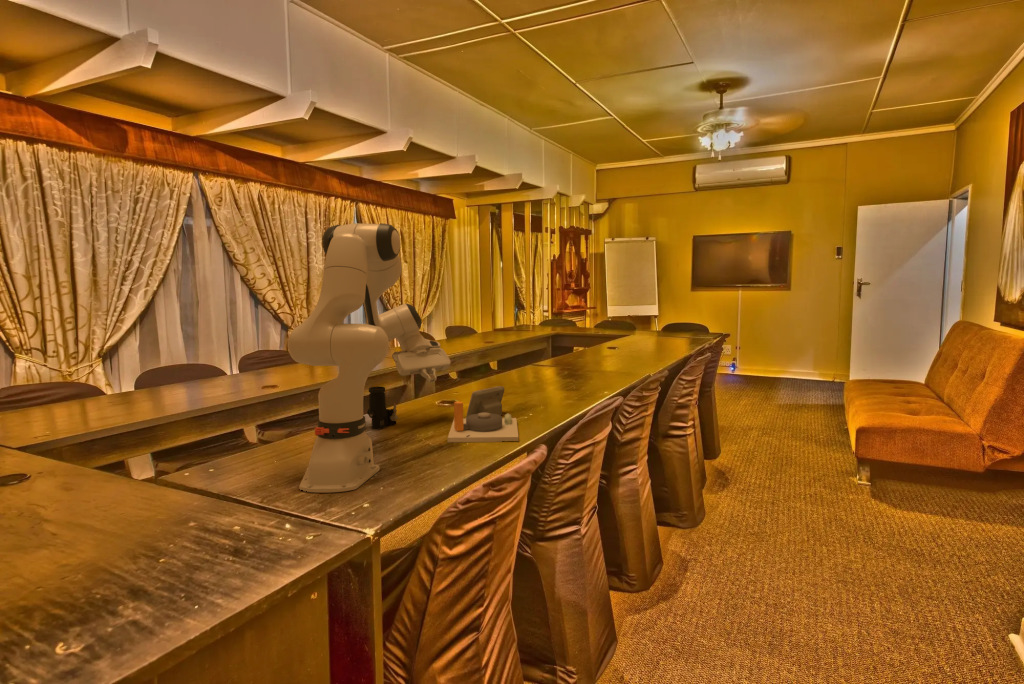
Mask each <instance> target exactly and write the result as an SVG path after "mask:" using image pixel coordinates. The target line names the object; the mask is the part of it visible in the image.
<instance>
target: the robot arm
mask: <svg viewBox="0 0 1024 684" xmlns="http://www.w3.org/2000/svg"><path fill="white" fill-rule="evenodd" d="M321 242H322V243H321V244H322V250H323V252H324V254H325V258H324V265H323V274H322V282H321V287H320V288H321V289H320V294H319V297H318V298H319V299H318V300H317V303H316V305H315V307H314V309H313V311H312V312H311V313H310V314H309V316H308V317H307V318H306V319H305V320H304V321H302V323H300V324H299V325H297V326H295V327H294V328H293V330H291V332H290V333H289V334H288V335H289V336H288V338H287V350H288V353H289V356H290V358H292V360H293V361H295V362H296V363H298V364H303V365H307V366H312V367H313V366H314V367H317V366H318V367H321V366H322V367H338V375H337V377H335V378H332V379H331V380H329V381H327V382H326V383H324V384H323V385H322V386H321V387H320V389H319V391H318V394H317V396H318V418H319V419H318V420H317V425H316V427H315V428H314V434H315V436H317V437H316V438H315V440H314V443H313V447H312V451H311V454H310V458H309V462H308V466H307V468H306V471H305V473H304V474H303V477H302V478H301V482H300V484H299V487H298V489H300V490H299V491H301V490H303V491H302V492H306V491H307V492H306V493H323V494H324V493H340V492H341V493H342V492H349V491H355V490H357V489H358V488H360V487H361V486H362V485H363V484H364V483H365V482H367V481H368V480H369V479H371V478H372V477H373V476H374V475H375V474H377V473H378V472H379V471H380V465H378V464H375V463H374V452H373V451H374V449H373V442H372V441H373V440H372V438H371V437H370V436H369V435H368V434H367V433H366V429H367V428H366V424H367V421H366V416H364V395H365V393H364V391H365V385H366V383H367V380H368V378H369V376H370V374H371V373H372V372H373V370H374V369H375V368H376V367H377V366H378V365H380V364H381V363H382V362H384V361H385V359H386V357H387V356H388V354H389V349H390V342H391V341H393V340H394V339H395V340H396V341H397V342H398V343H399V344H400V345H399V346H400V349H401V350H400V351H399V350H398V351H394V352H393V353H392V355H391V357H392V360H393V361H394V364H395V367H396V370H397V372H398V374H399V375H400V376H401V377H402V376H404V377H405V376H410V375H411V376H412V375H417V374H419V375H420V376H421V377H423V378H424V379H426V382H427V383H432V382H436V381H437V379H438V378H437V375H436V372H440V371H447V370H448V369H449V368H450V366H451V364H452V363H451V362H452V361H451V359H450V356H448V354H447V353H446V351H445V350H444V349H443V348H442V347H441V343H440V342H439V341H435V340H430V339H427V338H425V337H424V336H423V335H422V334H421V332H420V329H421V327H422V322H423V321H422V320H423V319H422V318H421V316H420V315H419V313H418V311H417V310H416V307H415V306H414V305H412V304H409V303H403V304H401V305H397V306H396V307H393V308H392V309H389V310H386V311H385V312H382V313H380V314H379V309H378V304H377V302H378V300H379V298H380V297H381V296H382V295H383V294H384V293H385V292H386V291H387V290H389V289H390V288H392V287H393V286H394V285H395V284H396V283H397V281H399V279H400V277H401V275H402V271H403V266H402V262H401V259H400V255H399V254H400V251H401V238H400V234H399V231H398V229H397V228H395V226H393V224H390V223H389V224H388V223H379V224H378V223H360V222H358V223H357V222H355V223H349V224H336V225H332V226H330V227H328V228H326V230H325V231H324V232H323V235H322V240H321ZM361 307H362V308H363V312H364V318H365V320H364V321H365V323H343V322H344V321H345V320H346V318H347V317H348V316H349V315H350V314H352V313H354V312H356V311H358V310H359V309H361Z"/></svg>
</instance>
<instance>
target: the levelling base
mask: <svg viewBox="0 0 1024 684" xmlns="http://www.w3.org/2000/svg"><path fill="white" fill-rule="evenodd" d="M465 423H466V417H465V418H464V417H463V424H465ZM502 441H518V442H519V430H518V421H517V417H512V414H511V413H508V412H507V413H506V414H504V417H502V427H501V428H500V429H497V430H492V431H474V430H470V429H467V430H463V431H457V430H455V429H454V419H453V421H452V423H451V426H450V430H449V433H448V436H447V443H503V442H502Z"/></svg>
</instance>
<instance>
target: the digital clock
mask: <svg viewBox="0 0 1024 684" xmlns="http://www.w3.org/2000/svg"><path fill="white" fill-rule="evenodd" d="M504 393H505V386H502V385H501V386H499V385H498V386H493V387H489V388H484V389H479V390H475V391H472V393H471V395H470V396H471V397H470V400H469V404H468V408H467V411H466V417H467V416H469V415H472V414H478V413H483V412H486V413H493V414H498V415H502V416H503V405H502V400H503V397H504Z"/></svg>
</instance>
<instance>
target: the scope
mask: <svg viewBox="0 0 1024 684" xmlns="http://www.w3.org/2000/svg"><path fill="white" fill-rule="evenodd" d="M385 392H386V387H385V386H371V387H369V388H368V393H369V394H368V395H369V396H368V397H369V398H368V406H369V407H368V409H367V415H368V416H369V418H370V419H371V429H372V430H383V429H385V427H386V428H387V427H388V426H395V425H397V421H398V419H399V416H398V415H397V411H398V410H397V403H396V402H394V403H393V404H392V405H393V408H390V409H389V408H387V405H386V404H387V403H386V393H385Z"/></svg>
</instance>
